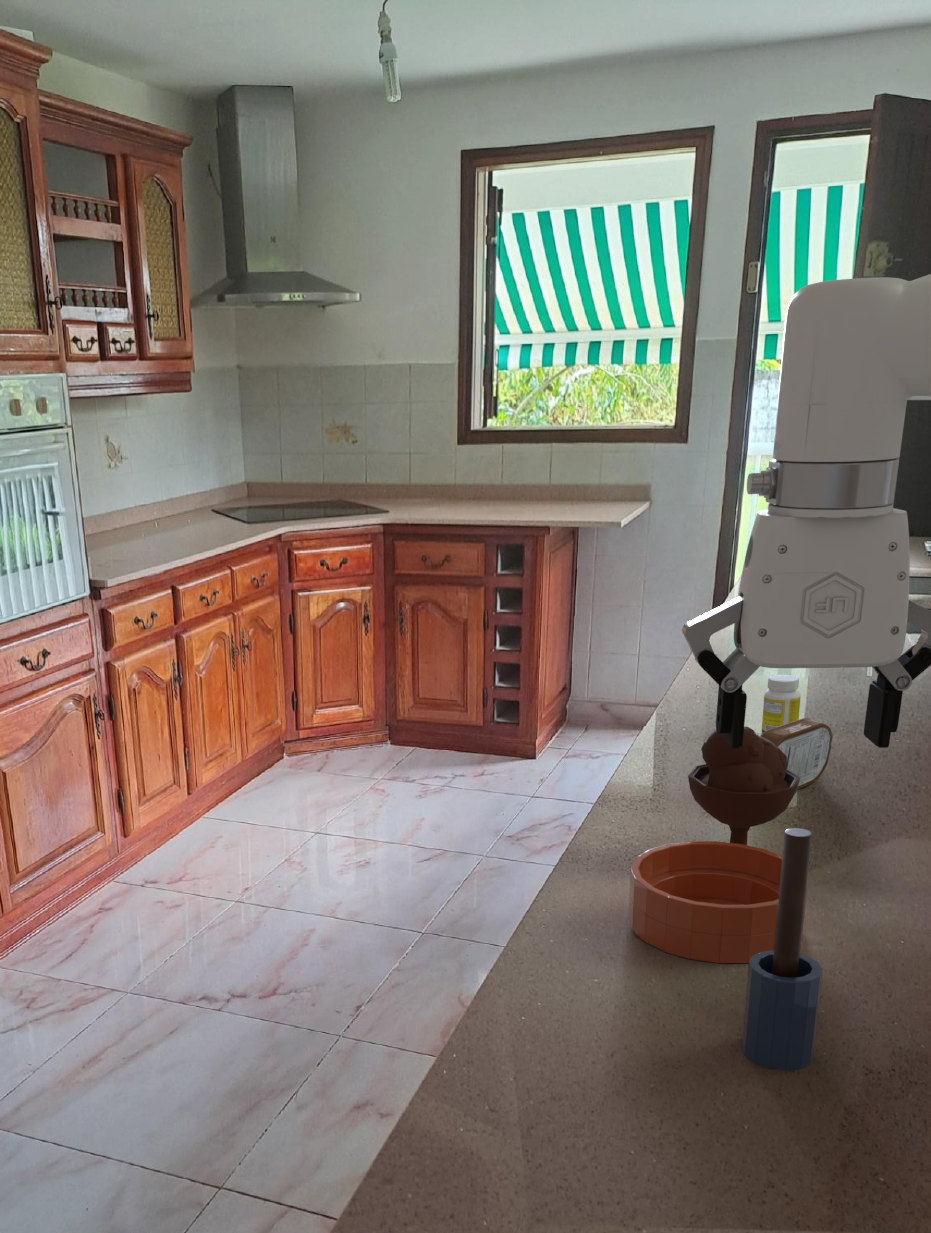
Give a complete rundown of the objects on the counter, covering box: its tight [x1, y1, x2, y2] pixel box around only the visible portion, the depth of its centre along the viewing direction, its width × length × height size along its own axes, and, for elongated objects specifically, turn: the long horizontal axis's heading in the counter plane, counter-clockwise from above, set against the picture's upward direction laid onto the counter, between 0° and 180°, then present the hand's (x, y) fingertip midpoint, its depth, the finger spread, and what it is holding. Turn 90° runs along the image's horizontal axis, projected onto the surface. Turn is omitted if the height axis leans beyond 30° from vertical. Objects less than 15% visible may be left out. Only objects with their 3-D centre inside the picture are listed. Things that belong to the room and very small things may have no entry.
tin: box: [759, 717, 834, 791], centre depth 142 cm, size 15×3×8 cm, turn 126°
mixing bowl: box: [628, 840, 809, 964], centre depth 108 cm, size 15×15×6 cm
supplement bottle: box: [761, 674, 802, 734], centre depth 163 cm, size 5×5×8 cm
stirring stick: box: [771, 827, 813, 978], centre depth 85 cm, size 2×2×18 cm
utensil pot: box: [741, 950, 824, 1071], centre depth 87 cm, size 5×5×8 cm
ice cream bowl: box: [687, 726, 801, 846], centre depth 122 cm, size 11×11×15 cm
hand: (803, 742), depth 81 cm, fingers open, 9 cm apart
